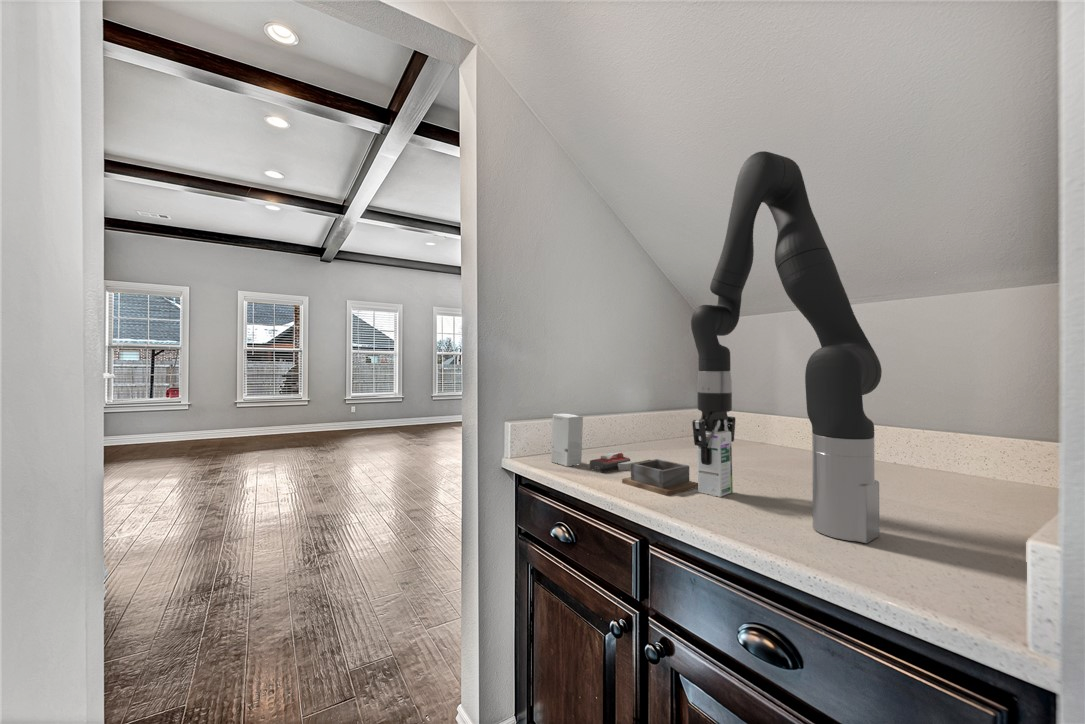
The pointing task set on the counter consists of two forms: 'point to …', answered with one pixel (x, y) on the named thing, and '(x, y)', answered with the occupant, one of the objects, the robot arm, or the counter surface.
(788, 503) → the counter surface
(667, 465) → the holder
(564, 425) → the skincare box
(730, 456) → the syrup box
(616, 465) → the walkie-talkie
